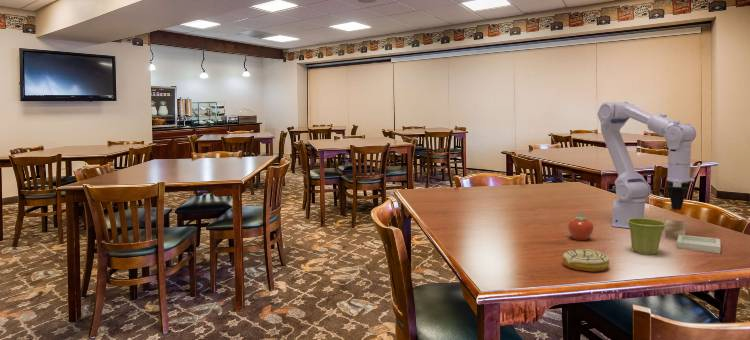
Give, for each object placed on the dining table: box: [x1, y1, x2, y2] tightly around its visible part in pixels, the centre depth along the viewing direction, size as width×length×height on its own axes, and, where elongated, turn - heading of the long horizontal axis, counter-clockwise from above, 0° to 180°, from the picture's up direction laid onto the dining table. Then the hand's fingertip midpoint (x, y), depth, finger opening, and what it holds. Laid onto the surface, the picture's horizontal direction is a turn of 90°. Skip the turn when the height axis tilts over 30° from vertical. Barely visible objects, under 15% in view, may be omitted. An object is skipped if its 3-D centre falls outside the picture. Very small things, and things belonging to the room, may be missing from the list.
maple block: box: [664, 219, 687, 241], centre depth 141 cm, size 5×5×5 cm
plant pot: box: [627, 217, 666, 256], centre depth 127 cm, size 9×9×9 cm
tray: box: [676, 234, 722, 254], centre depth 131 cm, size 10×10×2 cm
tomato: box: [567, 213, 595, 241], centre depth 141 cm, size 7×7×8 cm
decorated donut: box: [562, 248, 610, 273], centre depth 116 cm, size 10×11×4 cm
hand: (677, 207), depth 140 cm, fingers open, 7 cm apart
